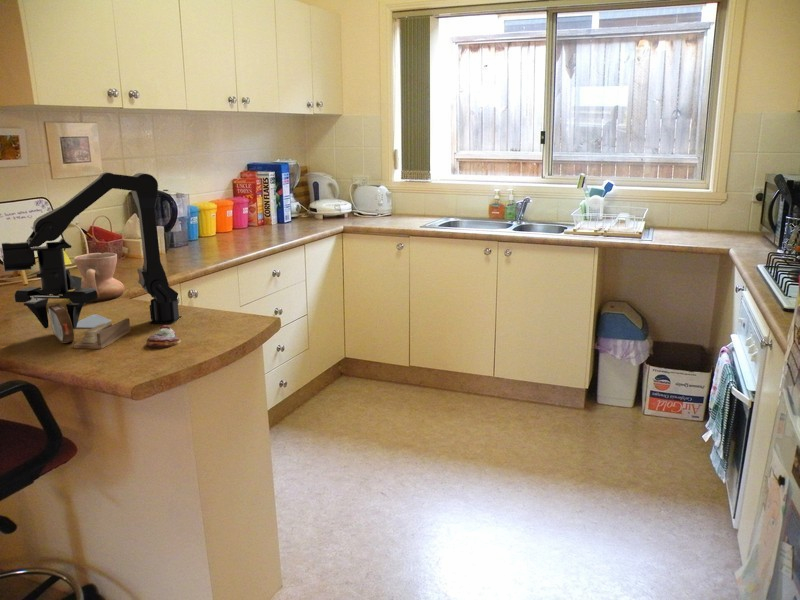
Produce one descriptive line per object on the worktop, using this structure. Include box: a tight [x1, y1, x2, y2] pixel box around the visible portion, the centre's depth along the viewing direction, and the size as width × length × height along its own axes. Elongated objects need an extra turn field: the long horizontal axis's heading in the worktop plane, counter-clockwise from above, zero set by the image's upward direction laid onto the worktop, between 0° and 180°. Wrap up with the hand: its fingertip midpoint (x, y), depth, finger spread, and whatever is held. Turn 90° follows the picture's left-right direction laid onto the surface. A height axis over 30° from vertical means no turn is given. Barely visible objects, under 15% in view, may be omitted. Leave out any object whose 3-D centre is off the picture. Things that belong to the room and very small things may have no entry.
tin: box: [47, 303, 75, 344], centre depth 165 cm, size 15×3×8 cm, turn 38°
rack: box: [73, 317, 131, 350], centre depth 165 cm, size 7×14×4 cm, turn 174°
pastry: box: [145, 324, 182, 350], centre depth 160 cm, size 8×8×5 cm
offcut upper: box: [84, 322, 113, 337], centre depth 164 cm, size 3×8×1 cm, turn 174°
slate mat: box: [74, 313, 113, 330], centre depth 185 cm, size 9×19×1 cm, turn 174°
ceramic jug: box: [73, 252, 125, 302], centre depth 206 cm, size 18×14×14 cm
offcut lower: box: [81, 336, 97, 343], centre depth 165 cm, size 3×10×1 cm, turn 174°
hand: (60, 328), depth 165 cm, fingers closed on tin, 7 cm apart
